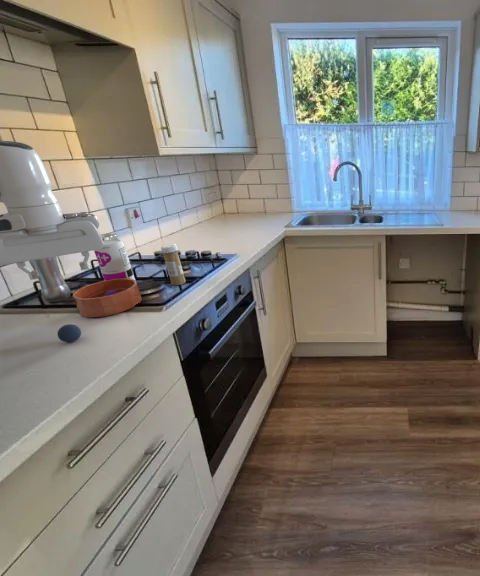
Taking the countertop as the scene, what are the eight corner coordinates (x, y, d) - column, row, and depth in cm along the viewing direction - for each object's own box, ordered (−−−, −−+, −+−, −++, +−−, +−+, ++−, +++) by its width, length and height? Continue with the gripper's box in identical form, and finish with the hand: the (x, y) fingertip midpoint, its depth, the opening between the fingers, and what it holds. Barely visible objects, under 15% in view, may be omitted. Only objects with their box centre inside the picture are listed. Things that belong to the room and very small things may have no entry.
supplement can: (118, 290, 118) (103, 246, 112) (101, 287, 121) (85, 244, 115) (141, 281, 125) (128, 240, 119) (124, 279, 128) (111, 238, 122)
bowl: (67, 314, 103) (60, 295, 101) (119, 293, 116) (113, 276, 114) (104, 322, 98) (96, 302, 96) (153, 299, 112) (148, 281, 109)
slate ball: (57, 344, 88) (50, 328, 87) (76, 335, 92) (70, 320, 90) (68, 347, 87) (61, 331, 85) (87, 338, 91) (81, 322, 89)
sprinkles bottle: (189, 282, 124) (179, 244, 119) (177, 286, 121) (166, 248, 115) (179, 280, 126) (170, 242, 121) (167, 284, 122) (157, 246, 117)
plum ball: (98, 303, 106) (100, 288, 105) (113, 301, 110) (116, 287, 109) (109, 307, 104) (111, 293, 104) (124, 306, 109) (126, 292, 108)
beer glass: (130, 276, 131) (117, 235, 125) (106, 280, 127) (92, 239, 121) (129, 270, 136) (117, 231, 130) (107, 274, 132) (93, 235, 126)
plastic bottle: (55, 296, 115) (29, 235, 107) (78, 295, 116) (54, 234, 108) (40, 305, 109) (11, 241, 101) (64, 303, 110) (37, 240, 102)
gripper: (93, 208, 90) (111, 261, 96) (-22, 221, 79) (6, 280, 84) (94, 212, 86) (113, 267, 91) (-28, 226, 74) (2, 288, 80)
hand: (61, 273), depth 88 cm, fingers open, 8 cm apart
